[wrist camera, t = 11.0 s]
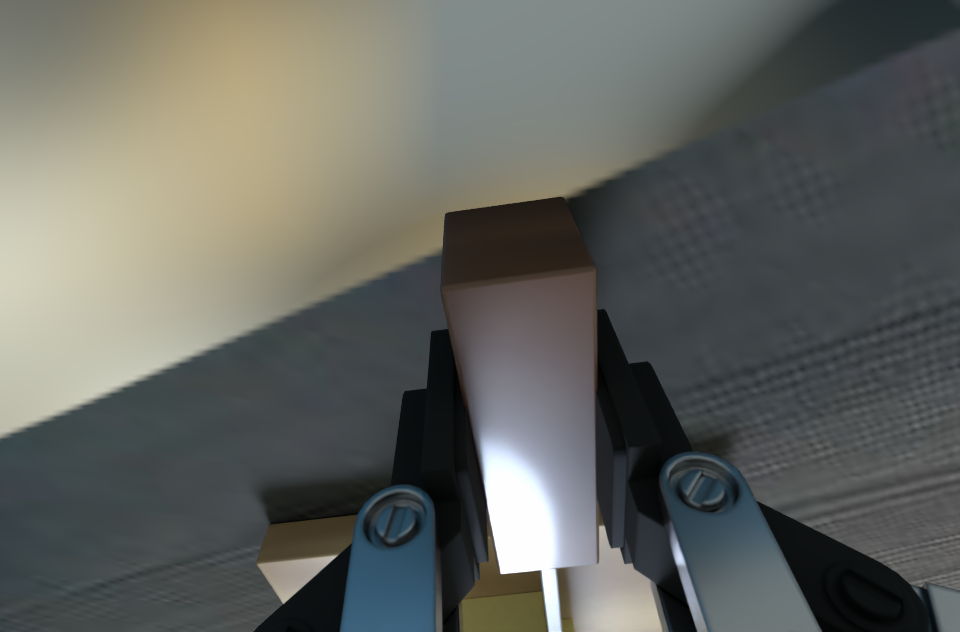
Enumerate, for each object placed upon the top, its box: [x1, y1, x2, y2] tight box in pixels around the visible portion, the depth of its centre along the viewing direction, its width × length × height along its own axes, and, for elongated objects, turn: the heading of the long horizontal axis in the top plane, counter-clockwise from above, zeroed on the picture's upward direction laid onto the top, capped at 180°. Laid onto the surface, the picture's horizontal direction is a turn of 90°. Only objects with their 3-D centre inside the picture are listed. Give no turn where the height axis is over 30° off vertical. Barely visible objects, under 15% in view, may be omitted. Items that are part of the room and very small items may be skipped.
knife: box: [440, 197, 599, 632], centre depth 14 cm, size 17×2×3 cm, turn 8°
